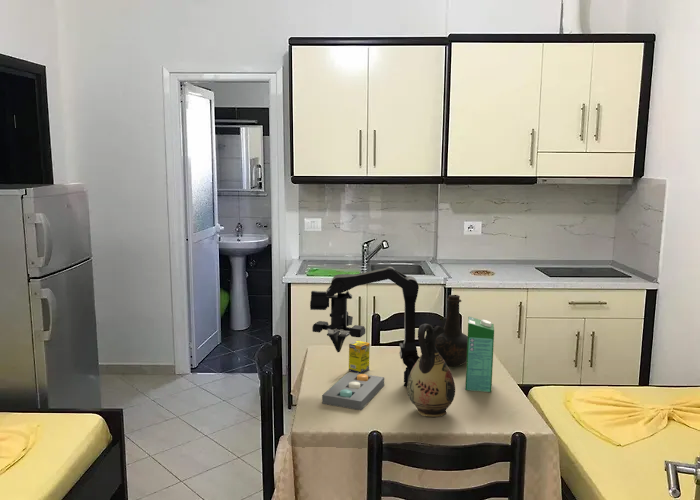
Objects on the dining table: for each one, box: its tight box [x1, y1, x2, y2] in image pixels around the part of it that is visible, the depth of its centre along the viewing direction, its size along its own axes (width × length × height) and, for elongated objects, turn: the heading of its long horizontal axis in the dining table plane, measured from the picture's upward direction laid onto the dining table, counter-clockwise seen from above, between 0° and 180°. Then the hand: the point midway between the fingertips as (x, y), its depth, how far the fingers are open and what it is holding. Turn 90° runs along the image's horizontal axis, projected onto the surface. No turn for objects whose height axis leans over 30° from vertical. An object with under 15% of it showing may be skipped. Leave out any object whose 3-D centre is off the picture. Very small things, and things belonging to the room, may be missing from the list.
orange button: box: [357, 373, 369, 381], centre depth 218 cm, size 4×4×3 cm
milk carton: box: [465, 316, 495, 393], centre depth 217 cm, size 9×9×25 cm
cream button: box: [349, 382, 360, 389], centre depth 210 cm, size 4×4×3 cm
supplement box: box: [348, 340, 371, 374], centre depth 234 cm, size 6×6×11 cm
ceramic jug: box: [406, 323, 456, 418], centre depth 194 cm, size 17×15×30 cm
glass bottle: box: [435, 294, 468, 367], centre depth 242 cm, size 18×18×28 cm
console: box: [321, 371, 385, 411], centre depth 210 cm, size 14×24×3 cm, turn 158°
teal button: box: [340, 389, 352, 398], centre depth 203 cm, size 4×4×3 cm
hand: (338, 351), depth 219 cm, fingers closed
